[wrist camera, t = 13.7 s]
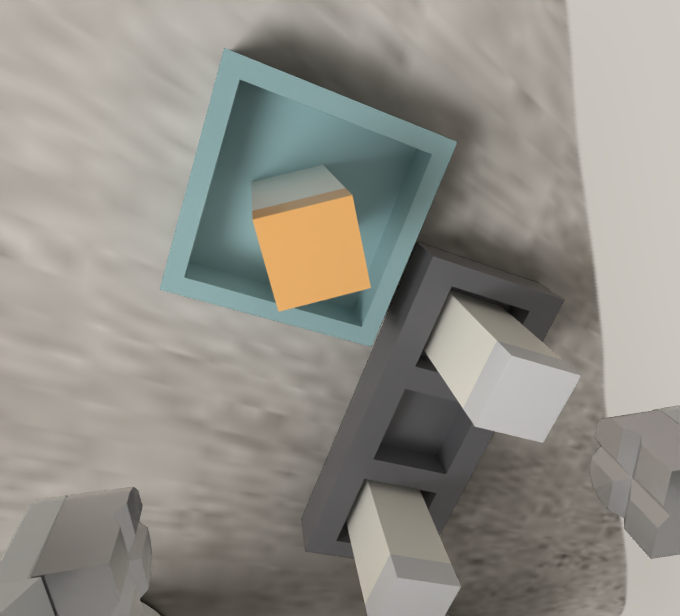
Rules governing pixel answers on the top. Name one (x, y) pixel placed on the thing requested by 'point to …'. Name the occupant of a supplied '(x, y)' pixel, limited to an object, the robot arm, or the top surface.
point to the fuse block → (415, 400)
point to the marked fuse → (308, 237)
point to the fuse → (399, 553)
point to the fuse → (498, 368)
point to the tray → (288, 156)
